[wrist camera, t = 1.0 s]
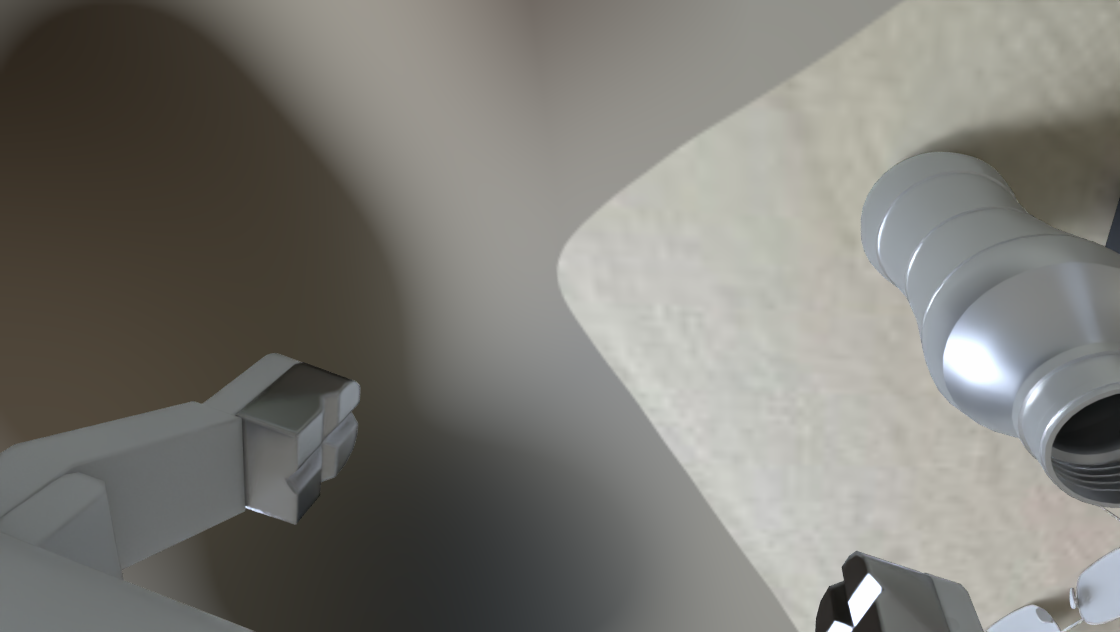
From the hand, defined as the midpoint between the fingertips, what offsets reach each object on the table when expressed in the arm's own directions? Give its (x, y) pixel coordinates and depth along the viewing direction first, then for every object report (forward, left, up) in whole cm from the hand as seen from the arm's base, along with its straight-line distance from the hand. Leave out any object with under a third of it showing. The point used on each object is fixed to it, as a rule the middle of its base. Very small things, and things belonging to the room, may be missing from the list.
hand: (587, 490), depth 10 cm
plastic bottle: (+4, +12, -28) cm, 30 cm away
